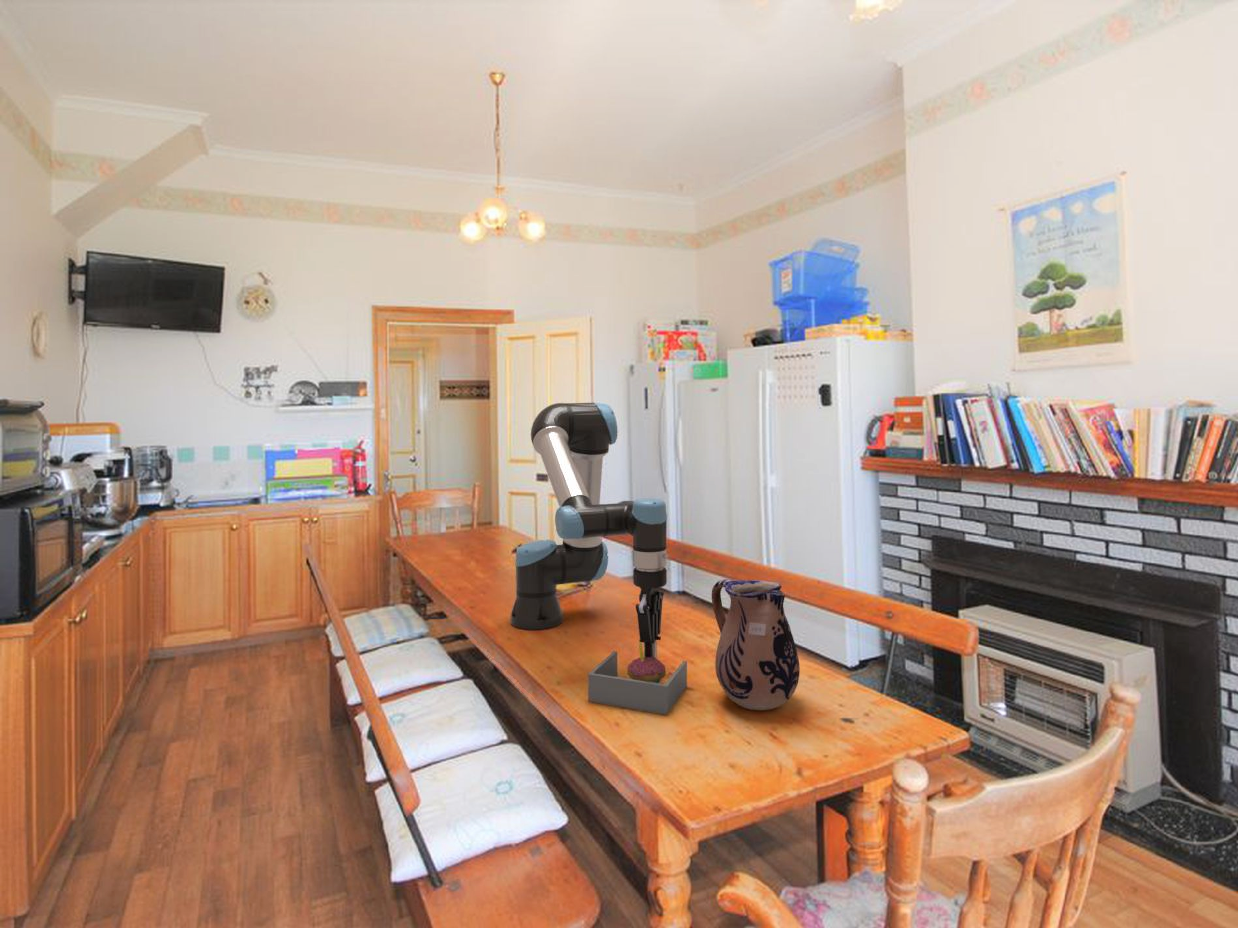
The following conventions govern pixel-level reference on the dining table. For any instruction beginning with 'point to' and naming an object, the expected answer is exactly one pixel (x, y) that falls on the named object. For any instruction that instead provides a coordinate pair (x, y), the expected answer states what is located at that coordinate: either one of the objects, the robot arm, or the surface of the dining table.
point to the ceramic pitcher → (755, 645)
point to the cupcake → (646, 668)
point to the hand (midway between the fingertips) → (650, 668)
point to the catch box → (634, 688)
